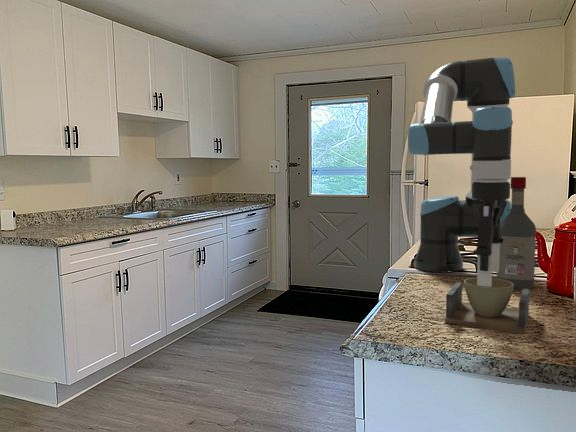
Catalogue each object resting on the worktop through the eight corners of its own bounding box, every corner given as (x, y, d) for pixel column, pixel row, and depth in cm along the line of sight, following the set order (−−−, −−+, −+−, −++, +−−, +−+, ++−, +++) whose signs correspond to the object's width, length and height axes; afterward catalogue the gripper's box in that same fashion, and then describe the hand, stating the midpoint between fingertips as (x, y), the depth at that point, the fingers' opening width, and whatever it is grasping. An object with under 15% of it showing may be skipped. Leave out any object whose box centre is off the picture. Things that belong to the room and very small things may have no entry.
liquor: (533, 291, 126) (537, 177, 123) (495, 288, 130) (498, 177, 127) (534, 283, 134) (537, 176, 131) (498, 280, 138) (501, 176, 135)
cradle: (457, 305, 115) (457, 281, 114) (528, 314, 107) (529, 288, 107) (445, 322, 103) (445, 295, 102) (524, 333, 95) (525, 304, 95)
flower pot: (518, 322, 99) (519, 288, 98) (467, 320, 101) (468, 287, 100) (506, 308, 109) (507, 277, 108) (460, 306, 111) (460, 276, 110)
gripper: (480, 178, 114) (478, 264, 117) (462, 184, 93) (460, 290, 96) (515, 178, 111) (512, 267, 113) (504, 184, 89) (501, 294, 92)
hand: (488, 278), depth 104 cm, fingers open, 13 cm apart
